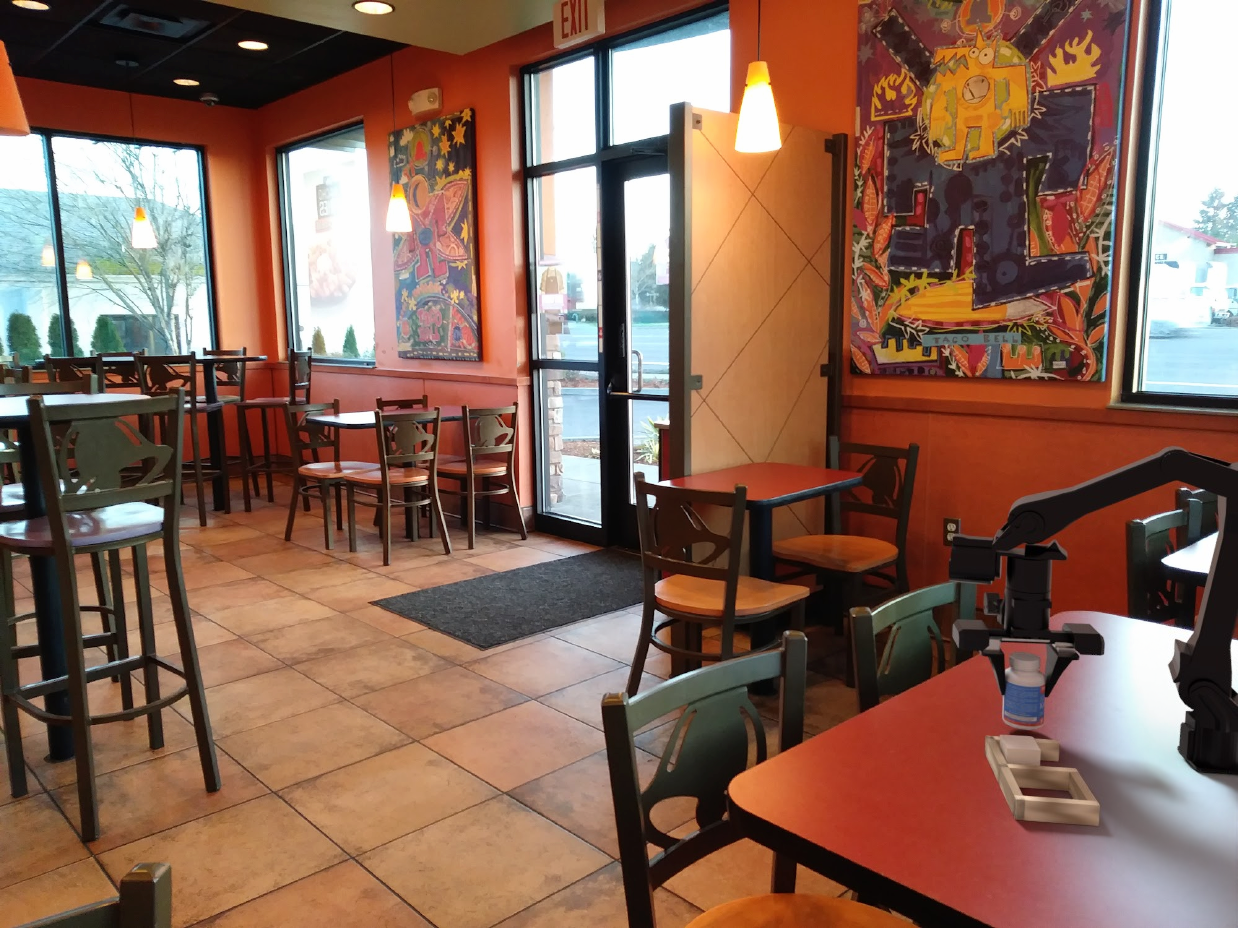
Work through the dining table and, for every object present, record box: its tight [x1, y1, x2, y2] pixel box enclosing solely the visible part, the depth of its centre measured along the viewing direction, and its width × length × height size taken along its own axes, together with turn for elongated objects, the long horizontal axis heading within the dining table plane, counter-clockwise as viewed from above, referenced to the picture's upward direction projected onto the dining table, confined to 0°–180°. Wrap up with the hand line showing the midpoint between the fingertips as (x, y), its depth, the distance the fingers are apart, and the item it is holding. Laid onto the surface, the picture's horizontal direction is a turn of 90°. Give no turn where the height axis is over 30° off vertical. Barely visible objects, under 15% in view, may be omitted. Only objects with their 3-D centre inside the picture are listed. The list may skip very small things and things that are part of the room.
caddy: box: [984, 735, 1101, 827], centre depth 111 cm, size 9×17×2 cm, turn 169°
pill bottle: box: [1001, 651, 1046, 731], centre depth 126 cm, size 6×5×10 cm
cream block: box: [999, 734, 1041, 766], centre depth 116 cm, size 4×4×4 cm
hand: (1023, 695), depth 126 cm, fingers closed on pill bottle, 5 cm apart
